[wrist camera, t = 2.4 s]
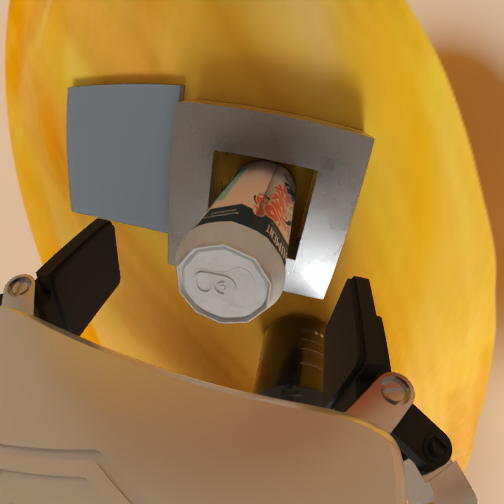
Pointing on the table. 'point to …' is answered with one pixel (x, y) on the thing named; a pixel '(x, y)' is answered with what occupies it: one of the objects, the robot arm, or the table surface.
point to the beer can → (240, 246)
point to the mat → (122, 151)
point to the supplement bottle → (292, 360)
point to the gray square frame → (276, 149)
